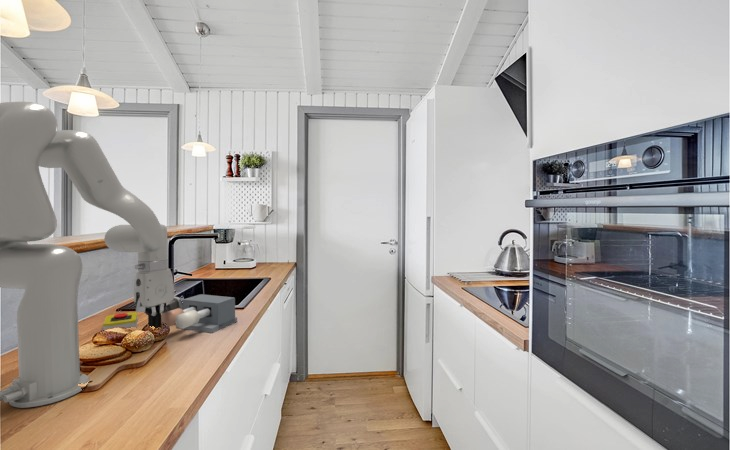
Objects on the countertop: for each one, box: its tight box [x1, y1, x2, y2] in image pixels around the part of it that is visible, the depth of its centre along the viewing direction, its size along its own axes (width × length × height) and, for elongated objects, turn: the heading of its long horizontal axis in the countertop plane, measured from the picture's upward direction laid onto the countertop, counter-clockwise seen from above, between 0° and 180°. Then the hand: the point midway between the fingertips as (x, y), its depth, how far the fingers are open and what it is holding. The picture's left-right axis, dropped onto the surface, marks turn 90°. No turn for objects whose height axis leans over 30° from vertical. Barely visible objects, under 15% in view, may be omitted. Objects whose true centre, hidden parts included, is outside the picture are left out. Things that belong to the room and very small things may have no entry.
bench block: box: [175, 293, 238, 334], centre depth 117 cm, size 12×15×9 cm
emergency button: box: [102, 311, 139, 331], centre depth 117 cm, size 9×4×15 cm
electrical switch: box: [161, 296, 183, 315], centre depth 121 cm, size 9×5×9 cm, turn 57°
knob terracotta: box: [161, 306, 197, 327], centre depth 111 cm, size 12×4×4 cm, turn 161°
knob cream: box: [175, 308, 211, 330], centre depth 109 cm, size 12×4×4 cm, turn 161°
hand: (155, 327), depth 102 cm, fingers closed
